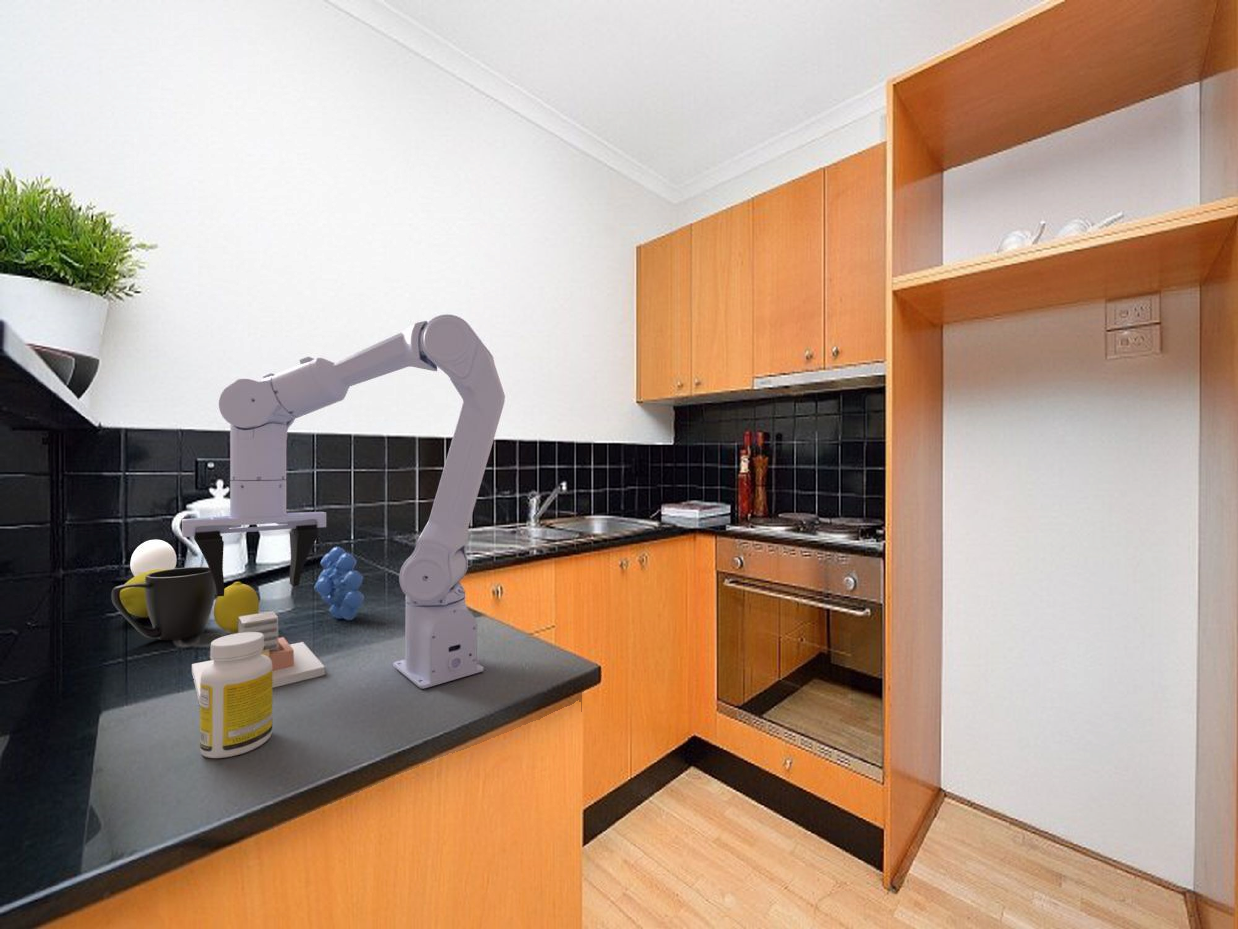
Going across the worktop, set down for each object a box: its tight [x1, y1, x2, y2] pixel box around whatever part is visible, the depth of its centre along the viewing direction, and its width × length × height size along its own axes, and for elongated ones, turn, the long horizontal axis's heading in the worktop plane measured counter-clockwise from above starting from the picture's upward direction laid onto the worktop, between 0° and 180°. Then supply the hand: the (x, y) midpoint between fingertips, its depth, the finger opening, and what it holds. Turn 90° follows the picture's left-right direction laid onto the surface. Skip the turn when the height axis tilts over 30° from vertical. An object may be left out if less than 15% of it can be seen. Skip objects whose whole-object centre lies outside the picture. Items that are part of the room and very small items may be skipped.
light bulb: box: [129, 539, 178, 577], centre depth 101 cm, size 7×7×11 cm
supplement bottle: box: [199, 632, 274, 759], centre depth 48 cm, size 5×5×10 cm
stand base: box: [191, 636, 326, 705], centre depth 64 cm, size 12×12×4 cm
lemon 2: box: [213, 581, 260, 634], centre depth 78 cm, size 6×6×8 cm
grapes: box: [313, 546, 365, 621], centre depth 86 cm, size 12×7×12 cm, turn 55°
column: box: [238, 610, 279, 653], centre depth 64 cm, size 4×4×6 cm
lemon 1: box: [120, 569, 169, 619], centre depth 87 cm, size 11×8×8 cm
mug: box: [110, 566, 216, 641], centre depth 77 cm, size 8×12×10 cm
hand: (258, 589), depth 64 cm, fingers open, 7 cm apart
